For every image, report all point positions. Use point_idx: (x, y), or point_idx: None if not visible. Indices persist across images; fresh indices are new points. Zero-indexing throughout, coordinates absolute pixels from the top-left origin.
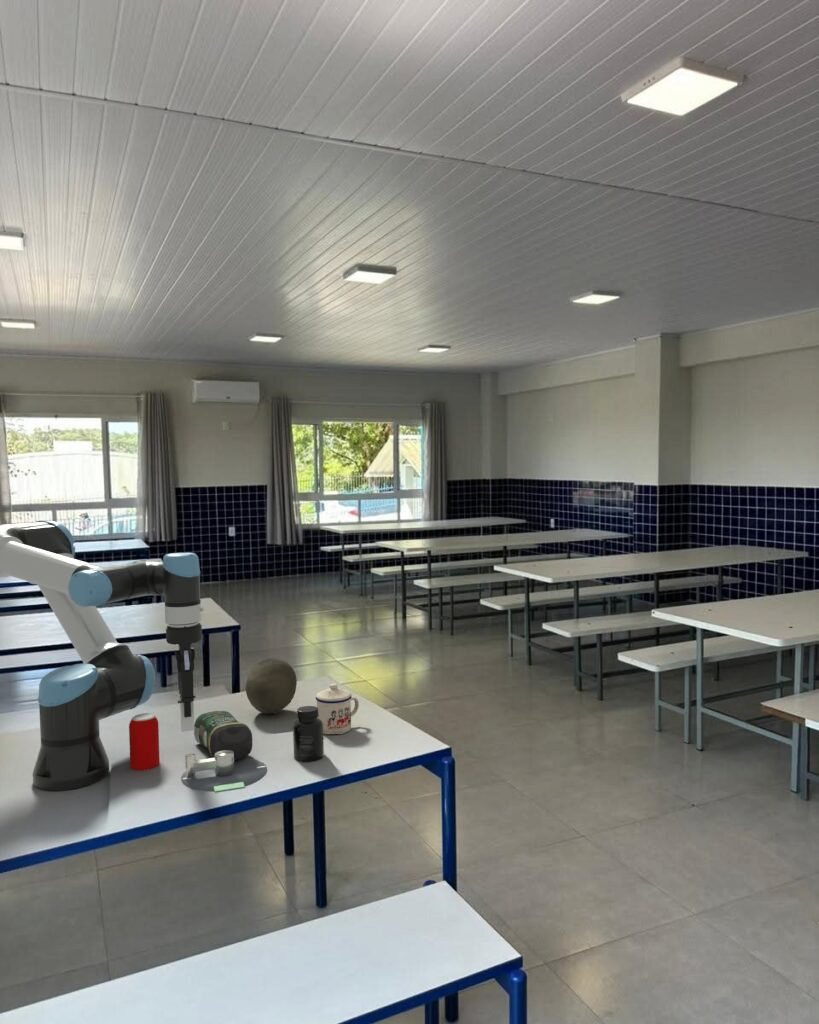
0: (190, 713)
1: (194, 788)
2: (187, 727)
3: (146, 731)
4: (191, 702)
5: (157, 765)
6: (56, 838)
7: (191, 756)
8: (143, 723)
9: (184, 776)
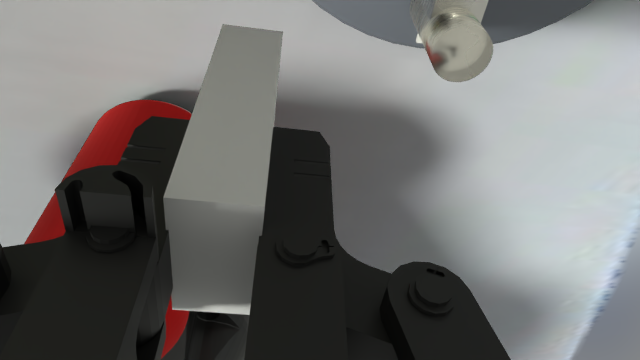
0: (328, 161)
1: (561, 11)
2: (276, 98)
3: None
4: (264, 213)
5: (189, 113)
6: (538, 344)
7: (486, 52)
8: (171, 337)
9: (389, 26)
